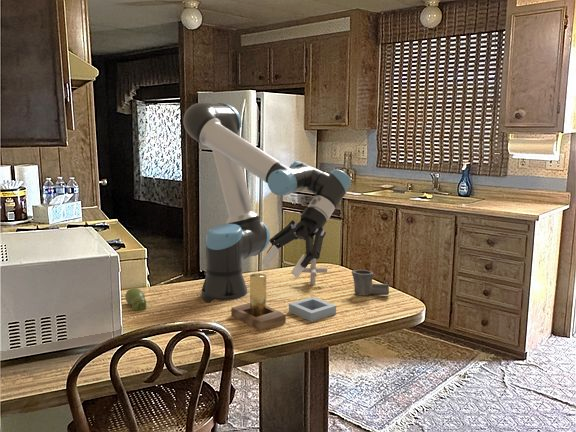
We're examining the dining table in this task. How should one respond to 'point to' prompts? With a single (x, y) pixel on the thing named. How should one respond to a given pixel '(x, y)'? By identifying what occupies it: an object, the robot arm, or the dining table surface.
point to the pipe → (367, 284)
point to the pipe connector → (314, 271)
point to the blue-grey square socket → (312, 309)
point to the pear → (136, 299)
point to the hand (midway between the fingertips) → (278, 269)
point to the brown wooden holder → (260, 322)
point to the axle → (257, 294)
